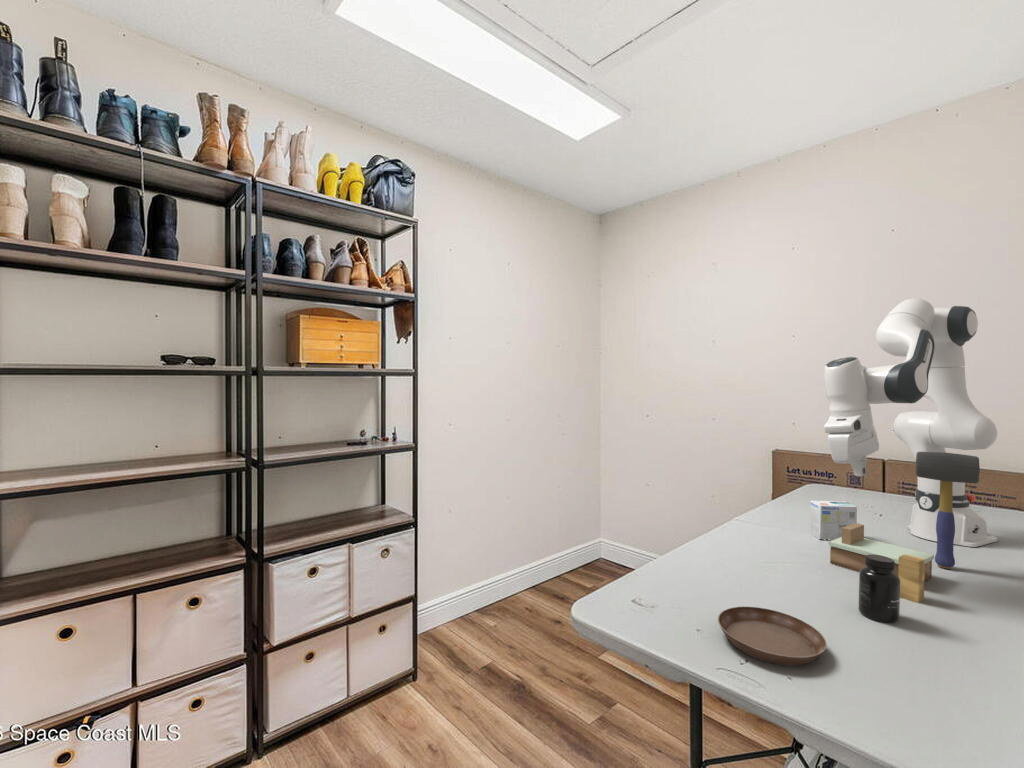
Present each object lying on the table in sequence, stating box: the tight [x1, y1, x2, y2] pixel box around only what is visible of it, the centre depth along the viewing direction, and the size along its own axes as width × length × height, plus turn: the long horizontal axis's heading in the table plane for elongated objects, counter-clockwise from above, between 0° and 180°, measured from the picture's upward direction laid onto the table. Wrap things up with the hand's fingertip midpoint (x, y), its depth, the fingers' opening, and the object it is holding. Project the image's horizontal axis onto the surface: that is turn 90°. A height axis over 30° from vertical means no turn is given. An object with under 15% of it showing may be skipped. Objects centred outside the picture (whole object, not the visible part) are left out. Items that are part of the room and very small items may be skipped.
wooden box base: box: [829, 546, 933, 583], centre depth 124 cm, size 11×18×4 cm, turn 33°
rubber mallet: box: [915, 452, 981, 570], centre depth 127 cm, size 12×8×30 cm, turn 47°
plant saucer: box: [717, 606, 828, 667], centre depth 90 cm, size 18×18×3 cm
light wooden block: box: [898, 554, 925, 604], centre depth 109 cm, size 4×4×9 cm
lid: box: [828, 522, 935, 564], centre depth 124 cm, size 12×19×5 cm, turn 33°
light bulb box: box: [809, 500, 858, 541], centre depth 150 cm, size 11×7×11 cm, turn 84°
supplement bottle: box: [858, 554, 901, 624], centre depth 101 cm, size 7×7×12 cm
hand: (860, 475), depth 124 cm, fingers closed
